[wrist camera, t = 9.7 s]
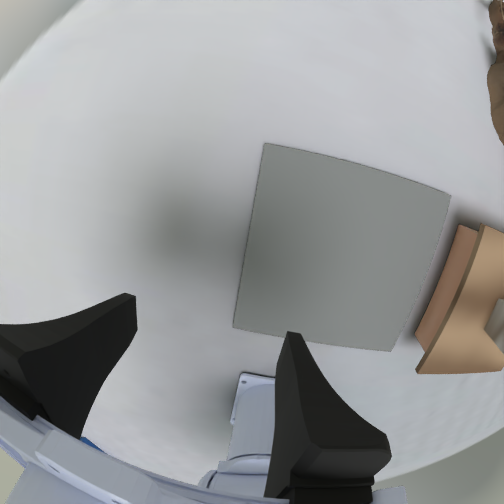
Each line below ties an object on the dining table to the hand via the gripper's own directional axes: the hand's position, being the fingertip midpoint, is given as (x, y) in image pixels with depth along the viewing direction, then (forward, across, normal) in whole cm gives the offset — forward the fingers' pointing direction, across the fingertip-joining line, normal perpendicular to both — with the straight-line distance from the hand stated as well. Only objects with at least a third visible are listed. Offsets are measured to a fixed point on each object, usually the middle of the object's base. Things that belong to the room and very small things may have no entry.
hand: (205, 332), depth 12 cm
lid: (+6, -23, -1) cm, 24 cm away
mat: (+10, -8, -1) cm, 13 cm away
